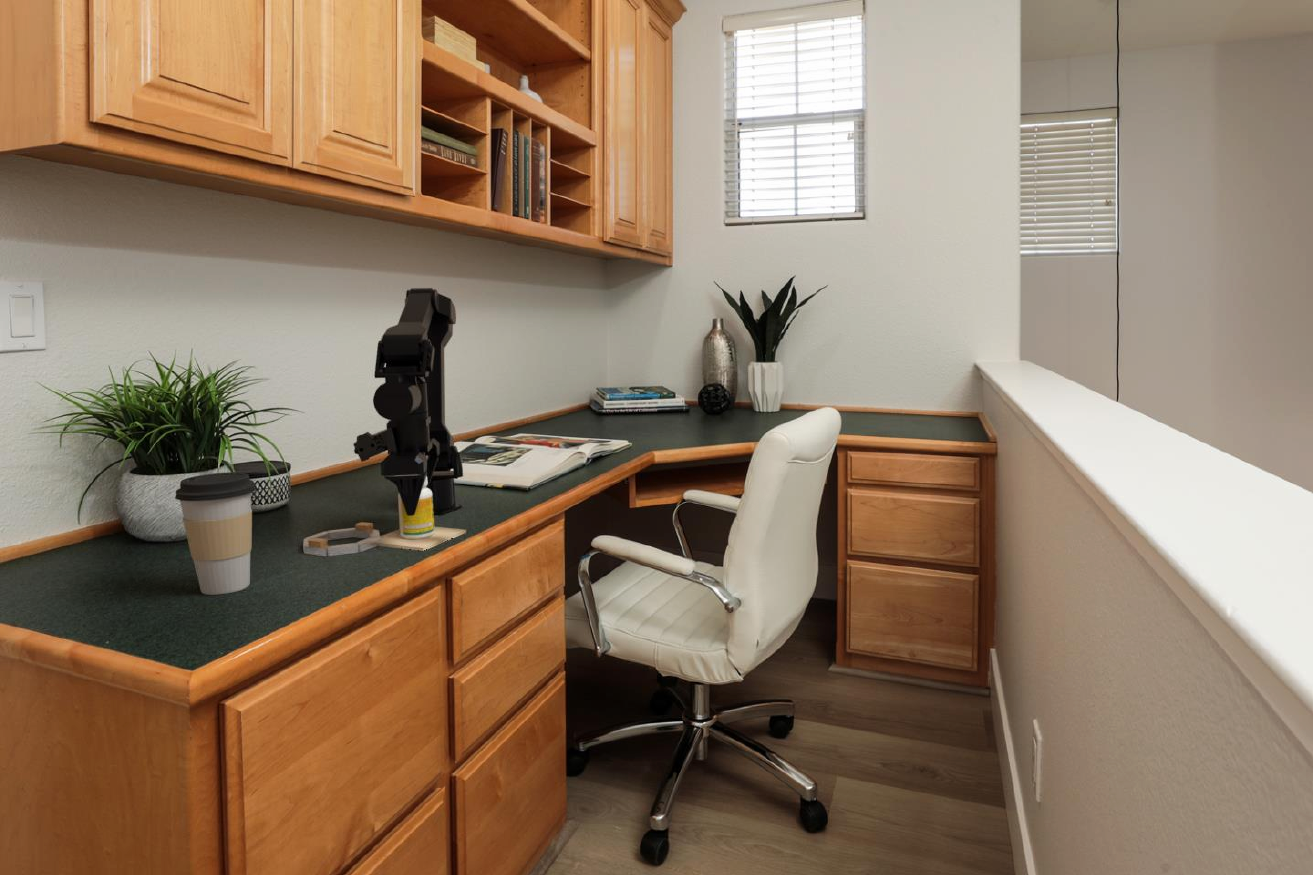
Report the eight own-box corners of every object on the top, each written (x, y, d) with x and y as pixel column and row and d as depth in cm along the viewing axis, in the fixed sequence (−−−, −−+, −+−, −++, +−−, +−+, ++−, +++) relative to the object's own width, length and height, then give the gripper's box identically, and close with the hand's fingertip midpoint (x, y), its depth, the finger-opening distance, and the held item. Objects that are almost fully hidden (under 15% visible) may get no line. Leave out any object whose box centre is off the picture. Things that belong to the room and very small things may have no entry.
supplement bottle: (395, 535, 129) (391, 477, 127) (426, 528, 132) (422, 472, 131) (409, 541, 125) (405, 482, 123) (440, 535, 128) (437, 477, 127)
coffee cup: (177, 588, 106) (164, 478, 104) (252, 571, 113) (241, 468, 111) (197, 605, 100) (184, 489, 97) (275, 586, 106) (265, 477, 104)
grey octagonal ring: (341, 532, 133) (340, 520, 132) (395, 538, 128) (394, 525, 128) (287, 551, 122) (286, 537, 122) (343, 558, 118) (342, 544, 118)
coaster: (412, 527, 135) (412, 524, 135) (466, 532, 131) (466, 529, 131) (366, 544, 125) (366, 541, 125) (423, 551, 121) (422, 547, 121)
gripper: (369, 407, 133) (376, 497, 136) (341, 422, 115) (349, 526, 117) (437, 405, 135) (442, 494, 137) (419, 419, 117) (426, 522, 119)
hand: (415, 508), depth 128 cm, fingers open, 9 cm apart
